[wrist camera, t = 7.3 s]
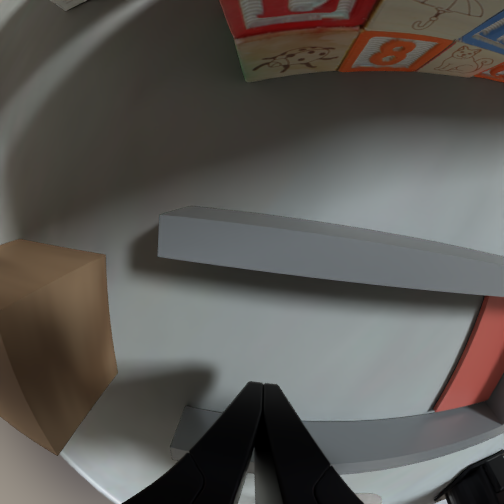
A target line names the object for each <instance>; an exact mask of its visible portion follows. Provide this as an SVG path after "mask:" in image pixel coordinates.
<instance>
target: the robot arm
mask: <svg viewBox="0 0 504 504" xmlns="http://www.w3.org/2000/svg"><path fill="white" fill-rule="evenodd" d="M253 450H254V473H255V504H364V503H363V502H362V501H361V500H360V499H359V498H358V496H357V495H356V494H355V493H354V492H353V491H352V490H351V489H350V488H349V487H348V485H347V484H346V483H345V482H344V480H343V479H342V478H341V477H340V475H339V474H338V473H337V471H336V470H335V468H334V467H333V466H332V465H331V463H330V462H329V460H328V459H327V457H326V456H325V454H324V453H323V452H322V450H321V449H320V447H319V446H318V444H317V443H316V442H315V440H314V439H313V437H312V436H311V434H310V433H309V431H308V430H307V428H306V427H305V425H304V424H303V422H302V421H301V419H300V418H299V416H298V415H297V413H296V412H295V410H294V409H293V407H292V406H291V404H290V403H289V401H288V400H287V398H286V396H285V395H284V393H283V392H282V390H281V389H280V387H279V386H278V385H277V384H269V383H265V384H264V385H263V384H262V383H260V382H252V381H250V382H248V383H247V384H246V386H245V387H244V388H243V389H242V390H241V392H240V393H239V394H238V395H237V396H236V398H235V399H234V400H233V401H232V402H231V404H230V405H229V406H228V407H227V408H226V410H225V411H224V412H223V413H222V414H221V415H220V417H219V418H218V419H217V420H216V421H215V422H214V423H213V425H212V426H211V427H210V428H209V429H208V430H207V431H206V432H205V433H204V435H203V436H202V437H201V438H200V439H199V440H198V441H197V442H196V443H195V444H194V445H193V447H192V448H191V449H190V450H189V451H188V452H189V453H188V452H187V453H186V454H185V455H184V456H183V457H182V458H181V459H180V460H179V461H178V462H177V463H176V464H175V465H174V466H173V467H172V468H171V469H170V470H168V471H167V472H166V473H165V474H164V475H163V476H161V477H160V478H159V479H157V480H156V481H155V482H153V483H152V484H151V485H149V486H148V487H146V488H145V489H143V490H142V491H140V492H139V493H137V494H136V495H134V496H133V497H131V498H130V499H128V500H127V501H125V502H123V503H122V504H238V501H239V498H240V495H241V492H242V488H243V485H244V482H245V479H246V475H247V472H248V468H249V465H250V461H251V458H252V454H253ZM503 456H504V450H503V451H501V452H499V453H497V454H495V455H493V456H491V457H489V458H487V459H485V460H483V461H480V462H478V463H476V464H474V465H471V466H470V467H468V468H467V469H466V470H465V471H464V472H463V473H462V474H461V475H460V476H459V477H458V478H457V479H456V480H455V481H454V482H453V483H452V484H451V485H450V486H449V487H447V488H446V489H445V490H444V491H443V492H442V493H441V494H440V495H438V496H437V497H436V498H435V499H434V502H435V503H436V502H439V501H441V500H444V499H446V500H447V503H448V504H504V457H503ZM330 465H331V466H330Z"/></svg>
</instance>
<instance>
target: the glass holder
mask: <svg viewBox="0 0 504 504" xmlns="http://www.w3.org/2000/svg"><path fill="white" fill-rule="evenodd" d="M356 495H357V496H358V498H359V499H360V500H361V501H362V502H363V503H364V504H381V503H382V498H381V497H380V496H378V495H376V494H370V493H357V494H356Z"/></svg>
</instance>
